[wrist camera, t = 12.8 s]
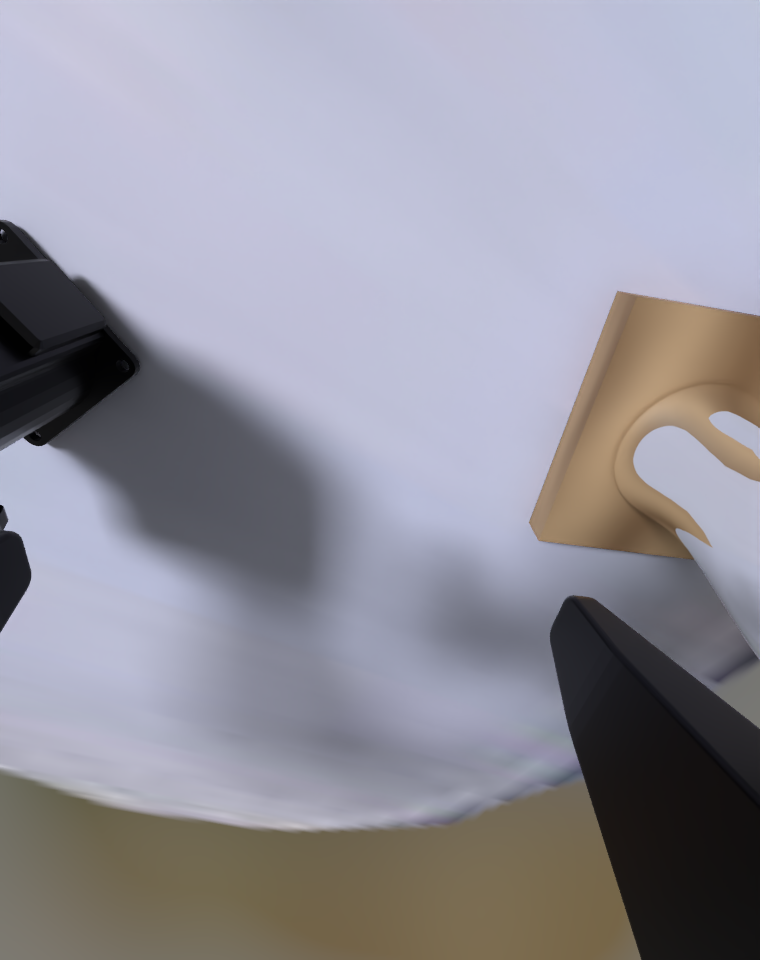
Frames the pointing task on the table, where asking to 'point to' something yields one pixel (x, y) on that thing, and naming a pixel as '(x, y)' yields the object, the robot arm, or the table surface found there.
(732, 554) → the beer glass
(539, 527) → the cleat board
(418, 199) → the table surface
